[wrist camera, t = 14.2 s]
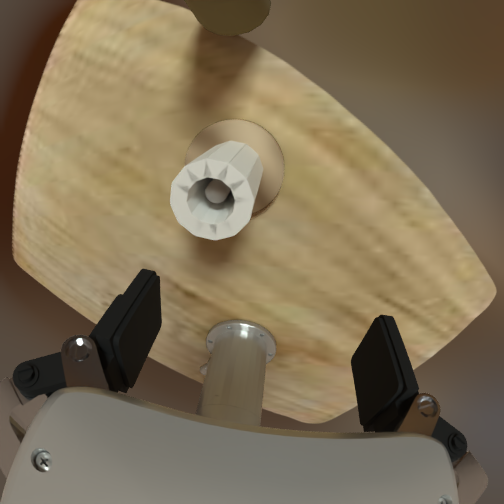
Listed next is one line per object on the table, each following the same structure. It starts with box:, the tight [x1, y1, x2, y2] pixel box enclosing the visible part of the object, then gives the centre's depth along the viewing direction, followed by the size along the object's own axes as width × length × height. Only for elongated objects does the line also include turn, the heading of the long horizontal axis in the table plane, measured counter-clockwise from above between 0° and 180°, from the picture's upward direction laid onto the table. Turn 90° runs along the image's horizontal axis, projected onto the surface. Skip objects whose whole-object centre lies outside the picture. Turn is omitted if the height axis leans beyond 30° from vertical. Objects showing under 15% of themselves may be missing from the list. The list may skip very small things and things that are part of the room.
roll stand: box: [185, 119, 284, 213], centre depth 29 cm, size 12×12×10 cm
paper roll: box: [170, 141, 263, 240], centre depth 27 cm, size 7×7×11 cm
